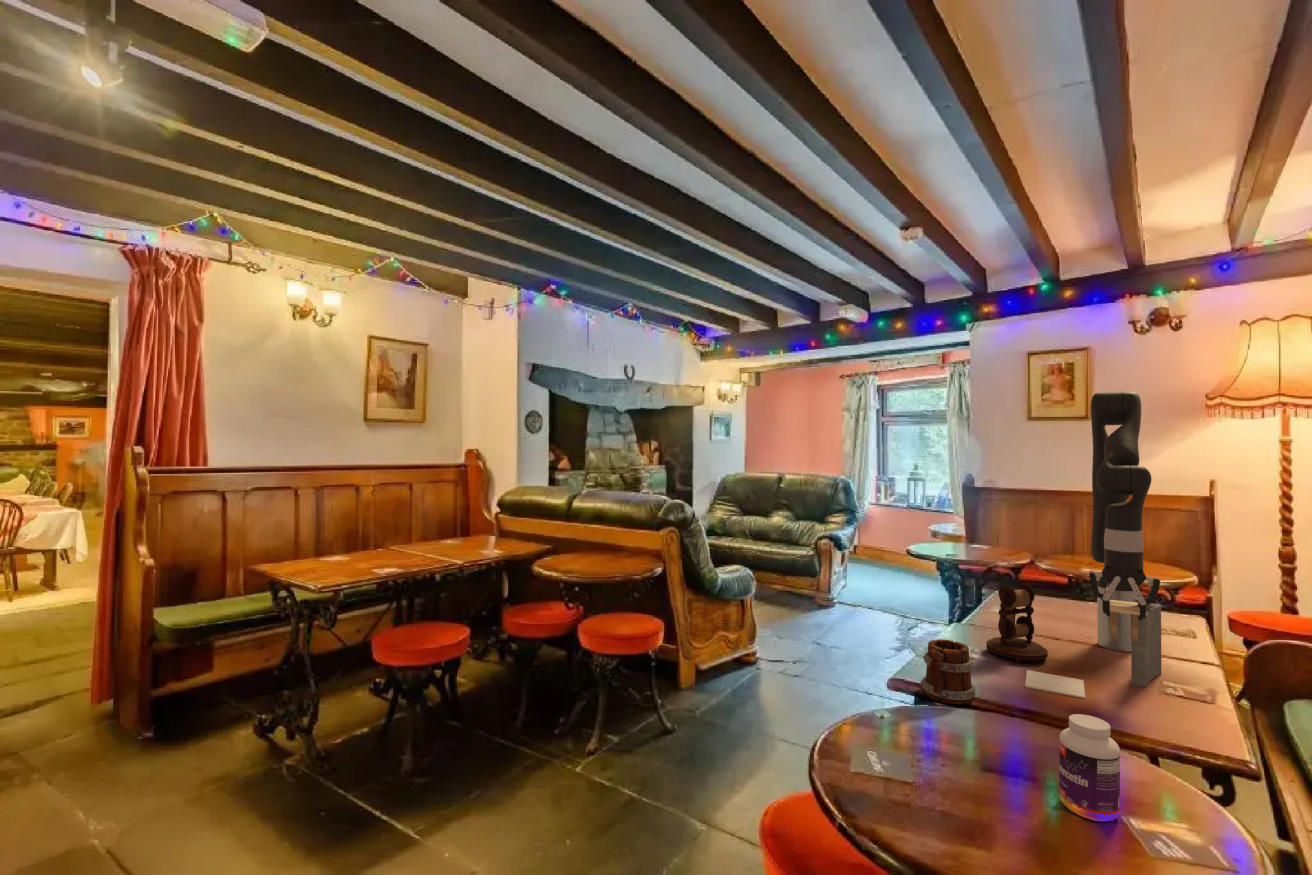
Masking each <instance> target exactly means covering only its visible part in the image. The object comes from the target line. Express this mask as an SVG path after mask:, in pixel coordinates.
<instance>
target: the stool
mask: <svg viewBox="0 0 1312 875" xmlns="http://www.w3.org/2000/svg"><path fill="white" fill-rule="evenodd" d="M1117 612H1118V613H1126V614H1131V636H1132V640H1133V641H1137V642H1138V615H1140V608H1139V606H1138V603H1134V602H1126V601H1117V600H1110V633H1111V637H1112V638H1116V639H1117Z"/></svg>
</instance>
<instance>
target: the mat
mask: <svg viewBox="0 0 1312 875" xmlns="http://www.w3.org/2000/svg"><path fill="white" fill-rule="evenodd" d="M1024 688H1026V689H1027V688H1028V689H1033V690H1039V691H1042V692H1043V691H1044V692H1048V693H1054V694H1058V695H1059V694H1060V695H1064V696H1068V697H1075V698H1080V699H1084V700H1086V693H1085V690H1086V689H1085V682H1084V679H1078V678H1072V677H1069V676H1063V675H1056V674H1051V673H1045V672H1041V671H1035V670H1029V669H1027V670H1026V675H1025V683H1024Z"/></svg>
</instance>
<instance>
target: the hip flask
mask: <svg viewBox="0 0 1312 875" xmlns="http://www.w3.org/2000/svg"><path fill="white" fill-rule="evenodd" d="M1134 601H1135V602H1136V603H1139V601H1138V599H1137V597H1136V598H1134ZM1130 653H1131V655H1130V657H1131V658H1130V659H1131V663H1130V664H1131V666H1130V667H1131V668H1130V669H1131V671H1130V672H1131V684H1132V685H1134V686H1137V687H1141V688H1147V687H1149V683H1150V682H1151V680H1152V679H1154V678H1155V677H1157V676H1160V675H1162V605H1161V604H1158V603H1154V604H1152V603H1151V604H1147V605H1146V617H1145V618H1142V620H1138V642H1137V641H1133V640H1132V636H1131V652H1130Z"/></svg>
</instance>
